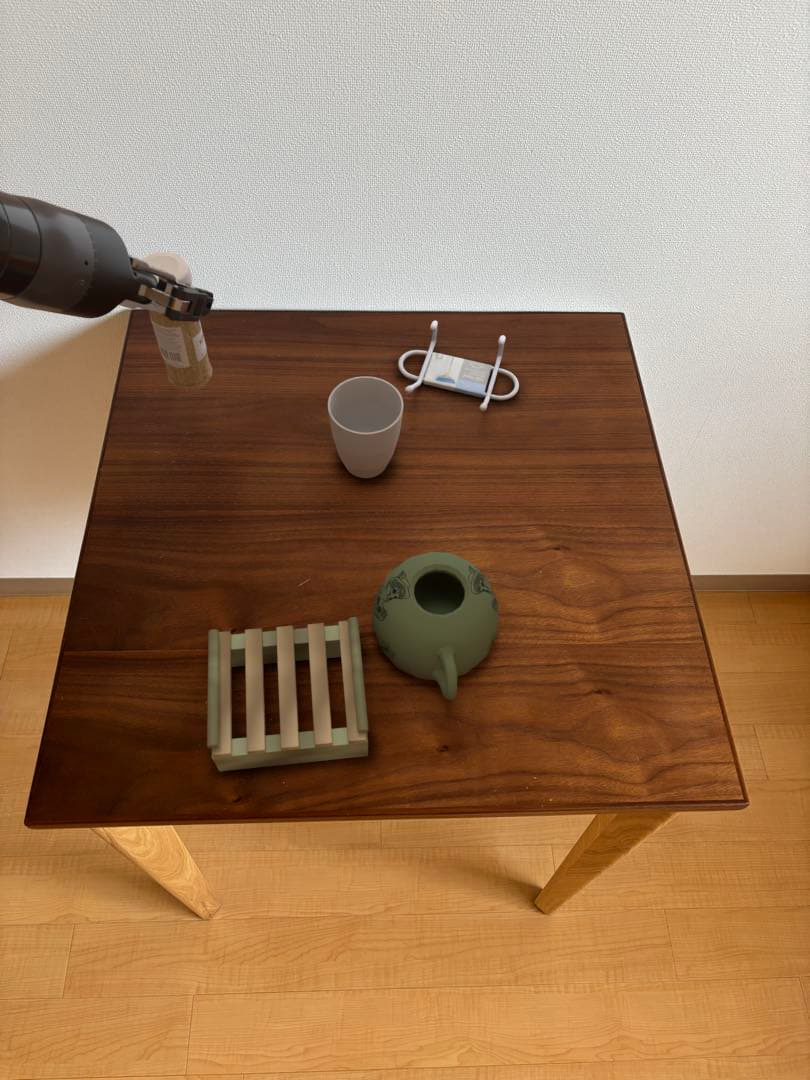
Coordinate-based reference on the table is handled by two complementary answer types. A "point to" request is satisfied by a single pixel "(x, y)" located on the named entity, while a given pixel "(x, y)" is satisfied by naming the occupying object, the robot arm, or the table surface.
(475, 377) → the wall mount rack
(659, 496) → the table surface
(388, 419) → the cup
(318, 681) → the drying rack
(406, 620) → the olive green ceramic pot
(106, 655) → the table surface
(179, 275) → the sprinkles bottle
